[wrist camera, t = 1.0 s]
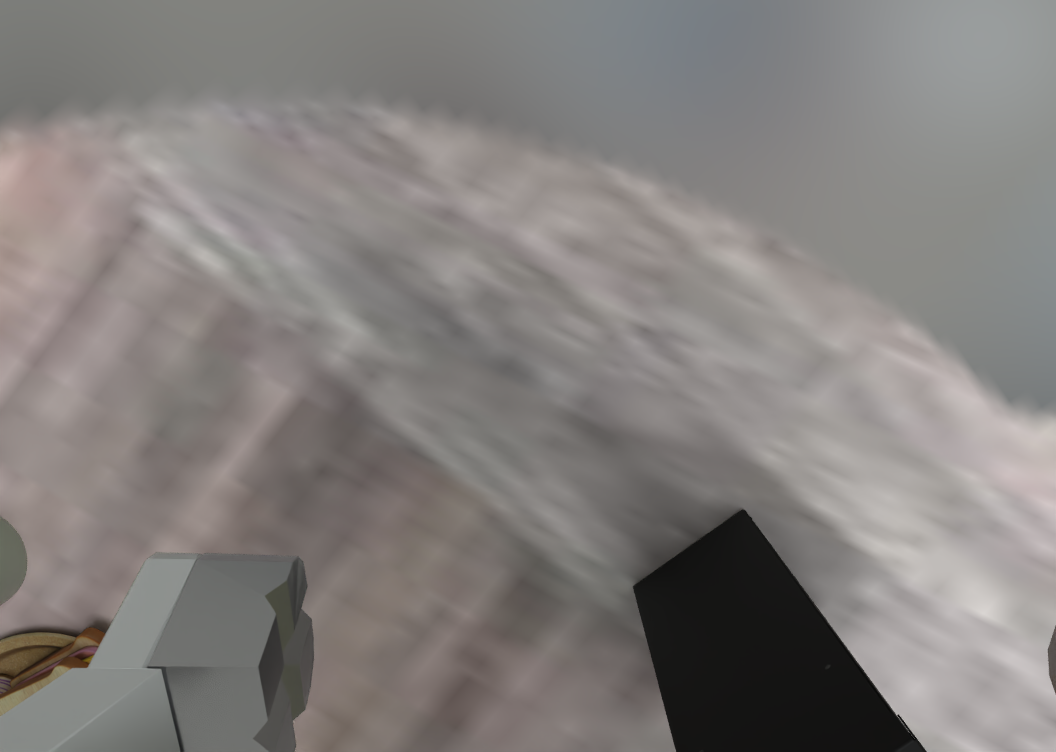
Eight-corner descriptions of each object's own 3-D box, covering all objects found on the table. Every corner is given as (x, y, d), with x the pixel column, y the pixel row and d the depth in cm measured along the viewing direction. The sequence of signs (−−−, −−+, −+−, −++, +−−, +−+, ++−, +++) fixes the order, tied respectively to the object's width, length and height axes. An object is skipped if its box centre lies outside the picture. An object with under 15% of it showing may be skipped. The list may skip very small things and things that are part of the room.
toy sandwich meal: (-82, 666, 56) (-139, 706, 51) (126, 589, 55) (88, 622, 50) (10, 848, 58) (-37, 903, 53) (213, 776, 57) (184, 826, 52)
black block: (630, 585, 54) (724, 954, 27) (743, 505, 53) (963, 800, 26) (710, 689, 55) (882, 1151, 27) (822, 612, 54) (1116, 1008, 27)
